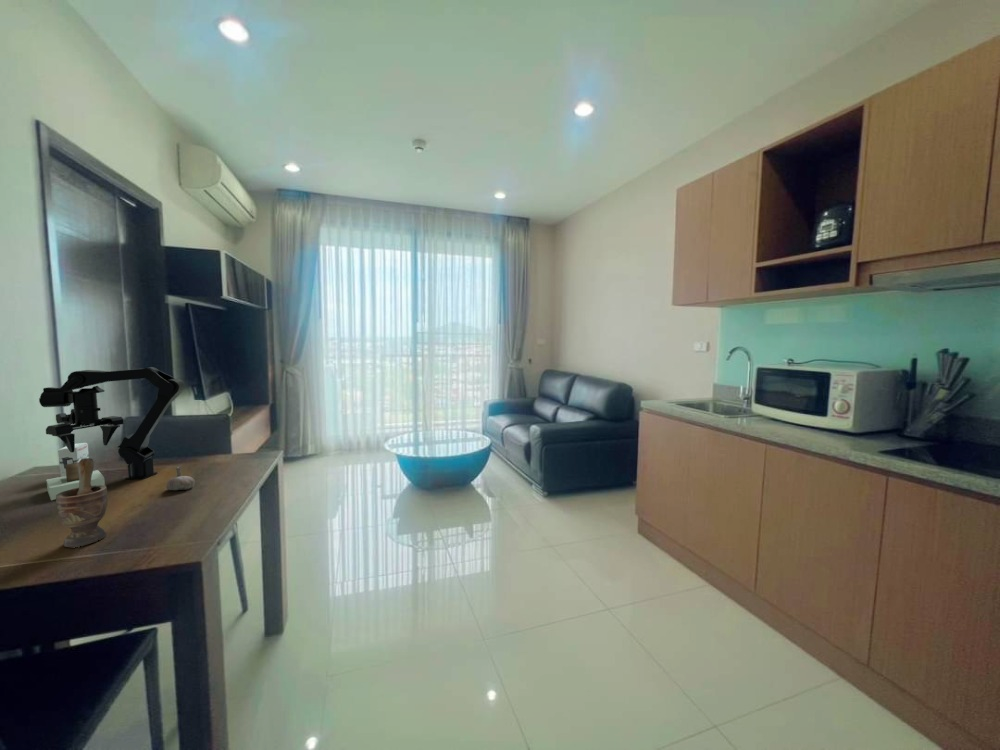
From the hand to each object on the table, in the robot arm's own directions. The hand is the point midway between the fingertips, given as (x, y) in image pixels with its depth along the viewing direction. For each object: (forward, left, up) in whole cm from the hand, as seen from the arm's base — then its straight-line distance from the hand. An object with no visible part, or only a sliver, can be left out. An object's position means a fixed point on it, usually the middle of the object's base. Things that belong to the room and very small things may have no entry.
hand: (89, 448), depth 135 cm
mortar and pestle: (-39, +40, -12) cm, 57 cm away
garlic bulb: (-37, +7, -12) cm, 40 cm away
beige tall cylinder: (-3, +8, -12) cm, 15 cm away
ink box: (+11, -5, -12) cm, 17 cm away
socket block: (-3, +8, -12) cm, 15 cm away
